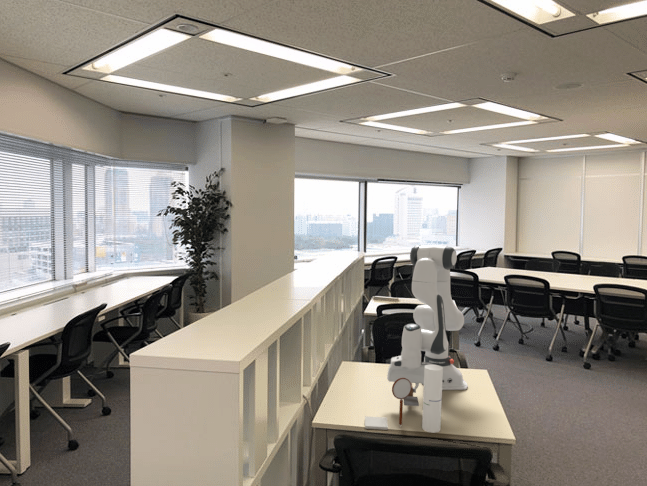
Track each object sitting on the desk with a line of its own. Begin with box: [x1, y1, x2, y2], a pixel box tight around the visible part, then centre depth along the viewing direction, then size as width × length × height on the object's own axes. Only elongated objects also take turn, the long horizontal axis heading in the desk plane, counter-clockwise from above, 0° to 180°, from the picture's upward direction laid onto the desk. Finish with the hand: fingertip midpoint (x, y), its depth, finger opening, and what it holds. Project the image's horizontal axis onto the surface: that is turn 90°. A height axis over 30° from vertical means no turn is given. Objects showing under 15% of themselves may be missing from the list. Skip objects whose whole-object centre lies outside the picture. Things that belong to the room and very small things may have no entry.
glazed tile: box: [364, 415, 389, 431], centre depth 202 cm, size 9×2×9 cm
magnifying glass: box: [391, 378, 413, 427], centre depth 200 cm, size 9×2×20 cm, turn 110°
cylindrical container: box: [421, 364, 443, 433], centre depth 198 cm, size 7×7×25 cm
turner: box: [402, 383, 420, 407], centre depth 220 cm, size 22×6×4 cm, turn 174°
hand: (409, 391), depth 221 cm, fingers closed on turner, 2 cm apart
